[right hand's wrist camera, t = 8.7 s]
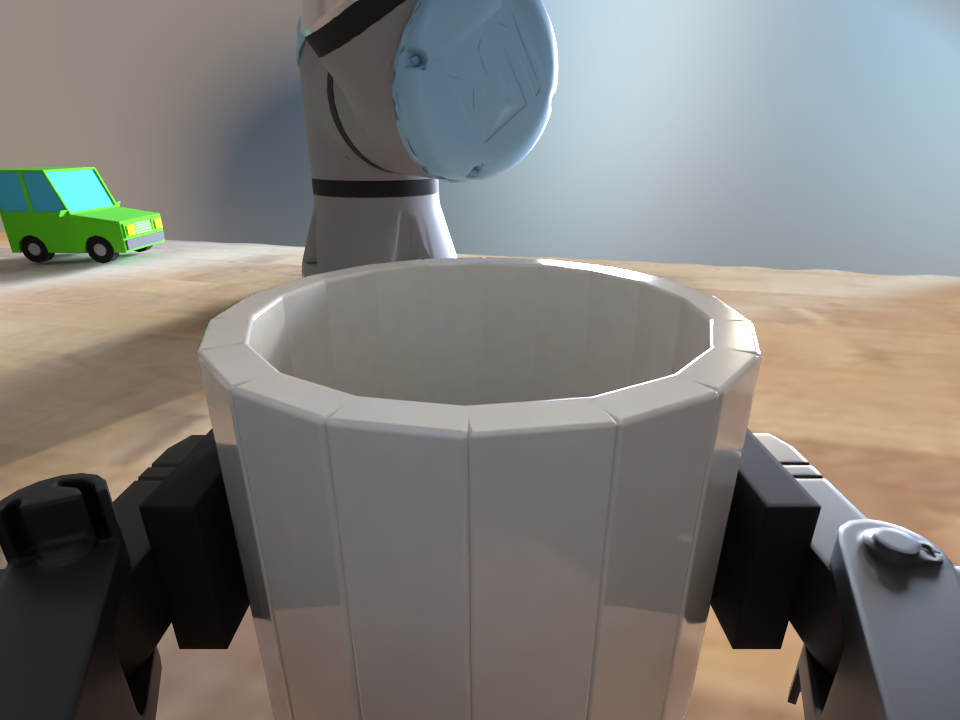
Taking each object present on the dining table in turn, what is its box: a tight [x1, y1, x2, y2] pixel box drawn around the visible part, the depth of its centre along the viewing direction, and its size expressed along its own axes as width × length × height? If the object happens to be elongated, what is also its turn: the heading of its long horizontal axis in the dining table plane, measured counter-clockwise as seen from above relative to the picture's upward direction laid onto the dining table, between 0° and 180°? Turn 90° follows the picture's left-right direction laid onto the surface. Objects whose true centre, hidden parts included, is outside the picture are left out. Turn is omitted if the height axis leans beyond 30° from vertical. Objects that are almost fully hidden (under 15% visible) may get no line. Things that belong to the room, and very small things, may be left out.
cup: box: [197, 257, 761, 720], centre depth 10 cm, size 8×8×10 cm
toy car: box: [0, 167, 165, 263], centre depth 63 cm, size 10×13×10 cm
